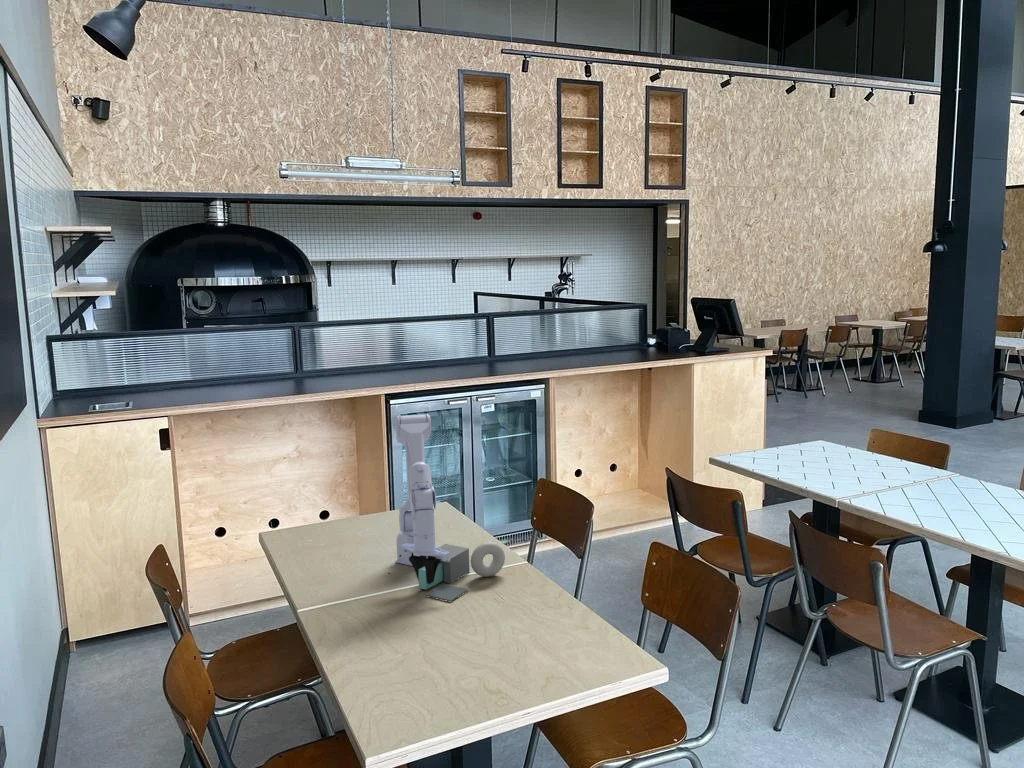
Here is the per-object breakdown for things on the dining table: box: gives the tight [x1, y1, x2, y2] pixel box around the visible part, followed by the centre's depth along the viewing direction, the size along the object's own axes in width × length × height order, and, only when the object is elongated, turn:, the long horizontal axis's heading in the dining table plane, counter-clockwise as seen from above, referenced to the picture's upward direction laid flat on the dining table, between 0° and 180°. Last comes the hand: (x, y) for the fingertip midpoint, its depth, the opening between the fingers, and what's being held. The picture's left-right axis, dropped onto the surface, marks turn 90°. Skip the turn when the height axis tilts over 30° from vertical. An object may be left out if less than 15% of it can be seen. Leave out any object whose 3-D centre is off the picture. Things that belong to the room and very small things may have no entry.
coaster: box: [425, 583, 469, 602], centre depth 202 cm, size 8×8×1 cm
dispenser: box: [426, 543, 471, 584], centre depth 213 cm, size 8×10×7 cm
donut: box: [470, 541, 506, 578], centre depth 212 cm, size 10×4×10 cm, turn 112°
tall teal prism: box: [418, 561, 444, 591], centre depth 208 cm, size 2×11×5 cm, turn 150°
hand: (426, 581), depth 205 cm, fingers closed on tall teal prism, 2 cm apart
